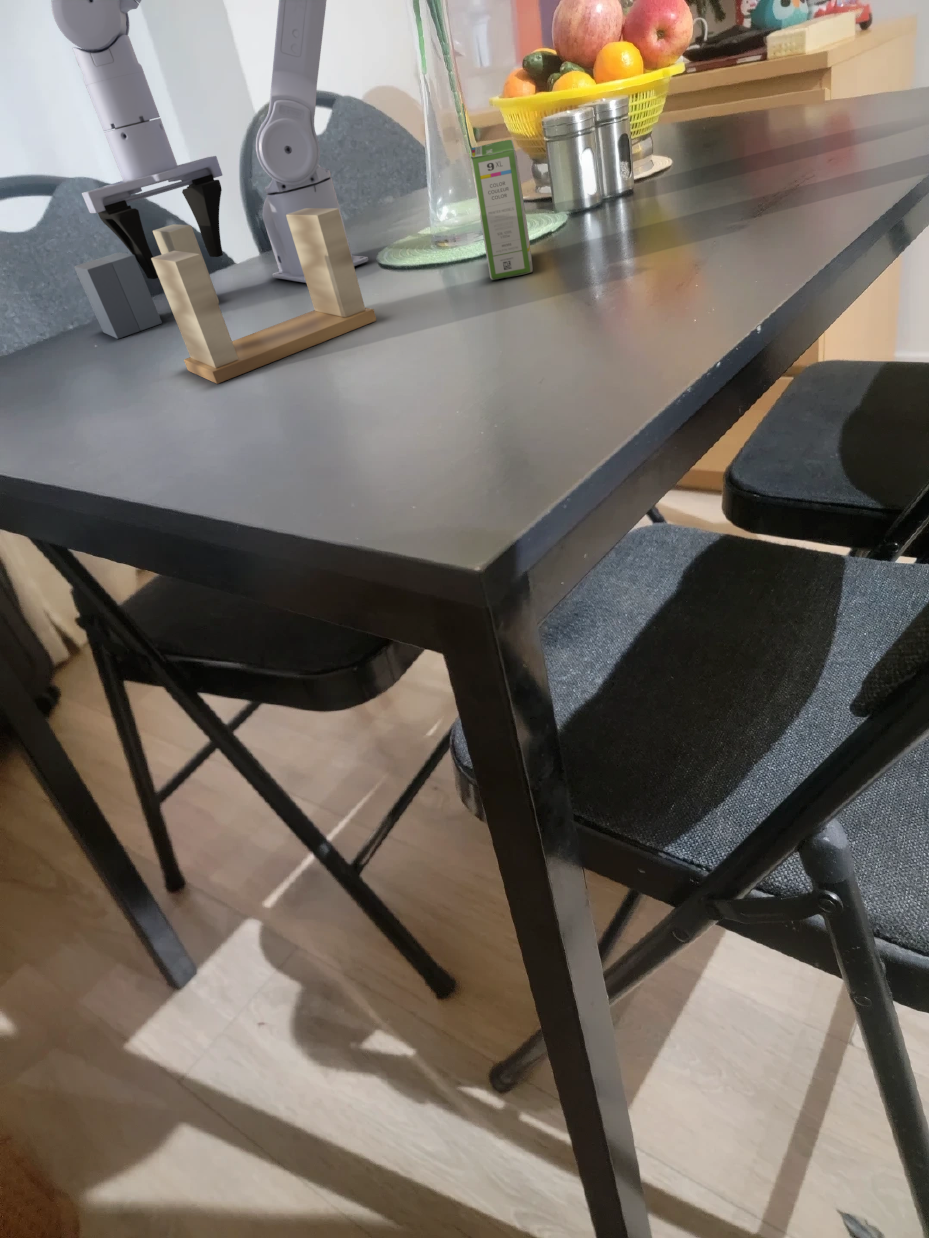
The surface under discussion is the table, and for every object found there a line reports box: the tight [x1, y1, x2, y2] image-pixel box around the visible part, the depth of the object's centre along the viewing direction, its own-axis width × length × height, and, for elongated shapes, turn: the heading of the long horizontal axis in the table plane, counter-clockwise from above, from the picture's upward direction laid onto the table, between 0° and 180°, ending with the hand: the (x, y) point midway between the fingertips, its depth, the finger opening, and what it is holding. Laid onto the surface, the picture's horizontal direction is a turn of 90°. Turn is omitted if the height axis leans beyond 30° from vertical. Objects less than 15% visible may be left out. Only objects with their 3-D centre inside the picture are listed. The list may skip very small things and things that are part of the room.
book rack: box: [151, 208, 377, 385], centre depth 67 cm, size 7×15×9 cm, turn 126°
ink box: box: [461, 102, 534, 281], centre depth 72 cm, size 7×4×13 cm, turn 179°
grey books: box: [73, 251, 163, 340], centre depth 87 cm, size 6×5×7 cm
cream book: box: [152, 223, 220, 304], centre depth 90 cm, size 6×2×8 cm, turn 36°
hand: (185, 267), depth 90 cm, fingers open, 7 cm apart
